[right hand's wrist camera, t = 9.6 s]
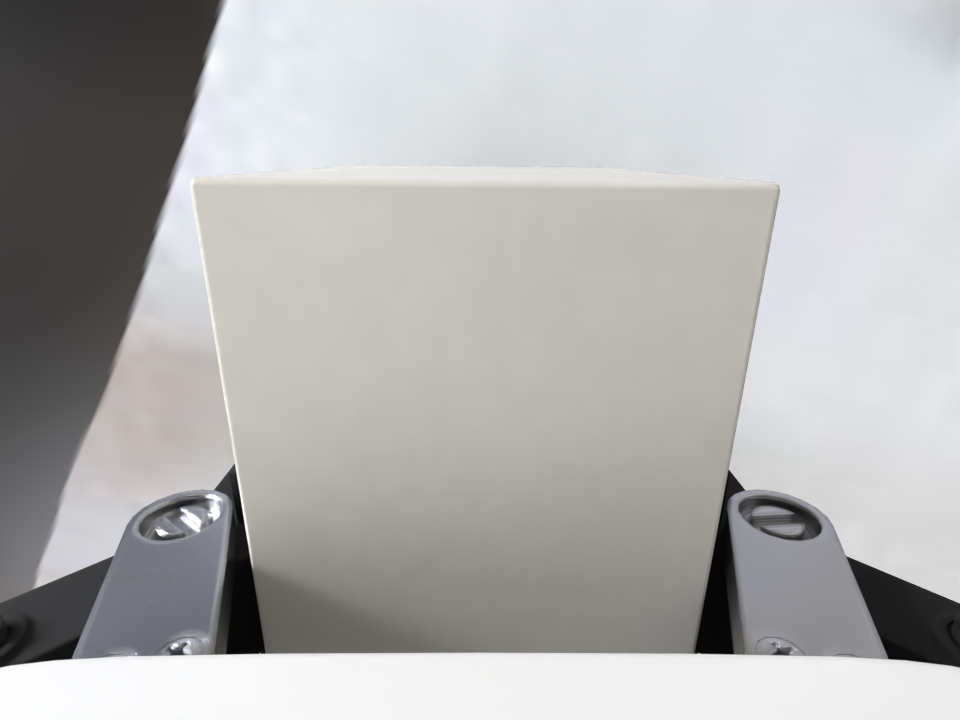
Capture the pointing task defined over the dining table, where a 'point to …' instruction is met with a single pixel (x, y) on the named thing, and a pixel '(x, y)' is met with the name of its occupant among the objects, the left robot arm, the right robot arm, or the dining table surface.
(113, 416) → the dining table surface
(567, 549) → the block
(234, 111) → the dining table surface
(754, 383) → the dining table surface
